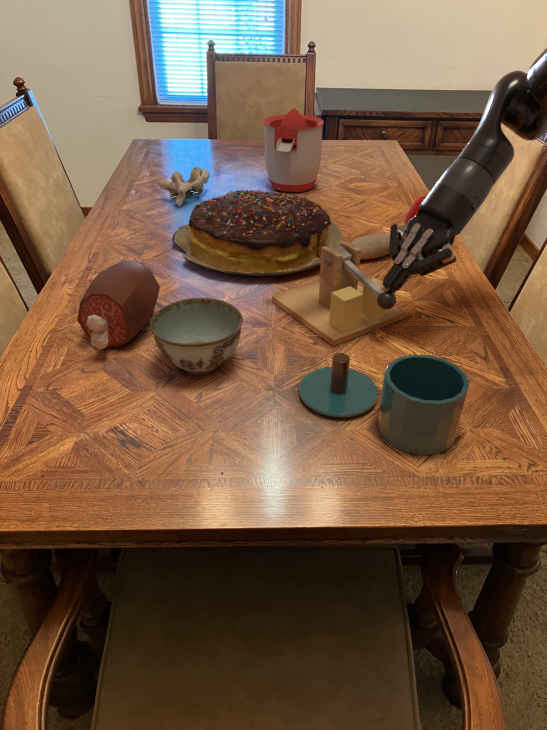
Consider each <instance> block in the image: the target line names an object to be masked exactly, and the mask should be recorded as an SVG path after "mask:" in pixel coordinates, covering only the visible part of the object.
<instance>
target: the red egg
mask: <svg viewBox="0 0 547 730" xmlns="http://www.w3.org/2000/svg"><path fill="white" fill-rule="evenodd" d="M426 196H427V195H424V196H419V197H417V199H416V200H414V202H413V203H412V204H411V206H410V207H409V209H408V210H407V213H406V215H405V217H404V223H403V225H406V224H408V222H409V220H410V219H412V218H413V217H415V216H416V215H417V213H418V210H419V206H420V205H421V203H422V202H423V201H424V199H425V198H426Z"/></svg>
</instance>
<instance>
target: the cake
mask: <svg viewBox="0 0 547 730" xmlns="http://www.w3.org/2000/svg"><path fill="white" fill-rule="evenodd" d="M345 239H346V238H345V235H344V233H343V231H342V229H341V228H340V227H339V226H338V225H337V224H336V223H334V222H333V221H332V220H331V216H330V215H329V213H328V212H327V211H326V209H323V208H322V206H321V205H319V204H317V203H316V202H313V201H311V200H309V199H308V198H306V197H305V196H303V197H302V196H298V195H296V194H290V193H285V192H277V191H269V190H267V191H262V190H260V189H257V190H252V189H250V190H248V189H246V190H244V189H241V190H235V191H229V192H226V194H224V195H221V196H217V197H212V198H209V199H208V200H206V199H205V200H201V202H199V203H196V204H195V206H194V207H193V209H192V211H191V213H190V216H189V220H188V223H187V224H183V225H181V226H179V227H178V229H176V230H175V231H174V232H173V234H172V237H171V241H172V242H174V243H175V244H176V245H177V246H178V247H180V248H181V249H182V250H183V251H184V252H185V254H182V257H183V259H184V260H186V261H189V262H193V263H194V264H196V265H199V266H201V267H204V268H206V269H209V270H214V271H217V272H221V273H224V274H226V275H227V274H230V275H239V276H259V277H260V276H263V277H264V276H281V275H292V274H294V273H298V272H302V271H307V270H311V269H313V268H315V267H318V266H321V248H322V247H324V246H327V247H329V248H330V249H335V248H339V247H340V242H342V241H346V240H345Z"/></svg>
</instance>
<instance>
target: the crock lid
mask: <svg viewBox="0 0 547 730" xmlns="http://www.w3.org/2000/svg"><path fill="white" fill-rule="evenodd" d="M350 362H351V357H350V355H348V354H347V353H344V352H338V353H337V352H336V353H335V354H333V355H332V359H331V366H327V367H326V366H325V367H321V368H317V369H315V370H313V371H311V372H309V373H308V374H306V375H304V377H303V378H302V380H301V381H300V383H299V389H298V390H299V391H298V392H299V393H298V394H299V396H300V399H301V401H302V402H303V403H304V404H305V406H307V407H308V408H309V409H311V410H312V411H314V412H316V413H318V414H321V415H323V416H328V417H332V418H352V417H356V416H360V415H364V414H365V413H367V412H368V411H370V410H371V409H372V408H373V407H374V406H375V405H376V403H377V401H378V396H379V391H378V387H377V385H376V383H375V381H374V380H372V378H370V377H369V376H368V375H366V374H365V373H363V372H361V371H359V370H356V369H353V368H350V364H351V363H350Z"/></svg>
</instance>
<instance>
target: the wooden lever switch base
mask: <svg viewBox="0 0 547 730" xmlns="http://www.w3.org/2000/svg"><path fill="white" fill-rule="evenodd" d="M350 243H351V242H350ZM350 243H349V242H348V241H346V240H345V241H342V242H340V247H343V248H344V249H345V250H346V251H348V252H349V253H350V254H351V255H352V257H351V262H352V263H353V264H354V265H355V266H356V267H357V268H358V269H359V270H360V265H361V259H360V256H361V249H359V248H357V247H355V246H354V245H352V244H350ZM342 256H343V255H341V254H340V253H338V252H336V251H334V250H332V249H330V248H329V247H327V246H324V247H322V248H321V264H320V265H319V266H320V269H319V280H316V281H313V282H310V283H306V284H303V285H301V286H297V287H295V288H291V289H288V290H284V291H281V292H279V293H276V294H272V295H271V302H272V303H274V304H275V305H276V306H278V307H279V308H280V309H282V310H283V311H284V312H285V313H287V314H289V315H290V316H291V317H293V318H294V319H295V320H296V321H298V322H300V323H301V324H303V325H304V326H305V327H306V328H307V329H309V330H311V331H312V332H313V333H314V334H316V335H317V336H318V337H320V338H321V339H323V340H324V341H325V342H326V343H328V344H329V345H331V346H332V347H335V346H338V345H340V344H343V343H345V342H348V341H350V340H353V339H355V338H358V337H360V336H363V335H365V334H369V333H370V332H373V331H376V330H378V329H381V328H383V327H386V326H388V325H392V324H393V323H397V322H398V321H401V320H404V319H405V317H406V311H403V310H402V309H401V308H399V307H397V306H396V305H394V306H393V307H392V308H391V309H385V316H384V317H382V318H379V319H376V320H372V319H371V318H369V317H367V316H366V315H364V314H363V313H362V314H361V323H360V326H358V327H356V328H353V329H350V330H348V331H345V332H343V333H341V332H340V331H339V330H337V329H336V328H334V327H333V326H331V325H330V324H329V318H330V304H331V292H334V291H337V290H340V289H343V288H346V287H349V286H351V287H352V288H354V289H356V290H357V291H359V292H361V293H362V294H363V286H361V285H360V284H359V280H357V279H356V278H355V277H354V276H353V275H352V274H351V273H350V272H349V271H348V270H346V269H345V268H344V269H342Z"/></svg>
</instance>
